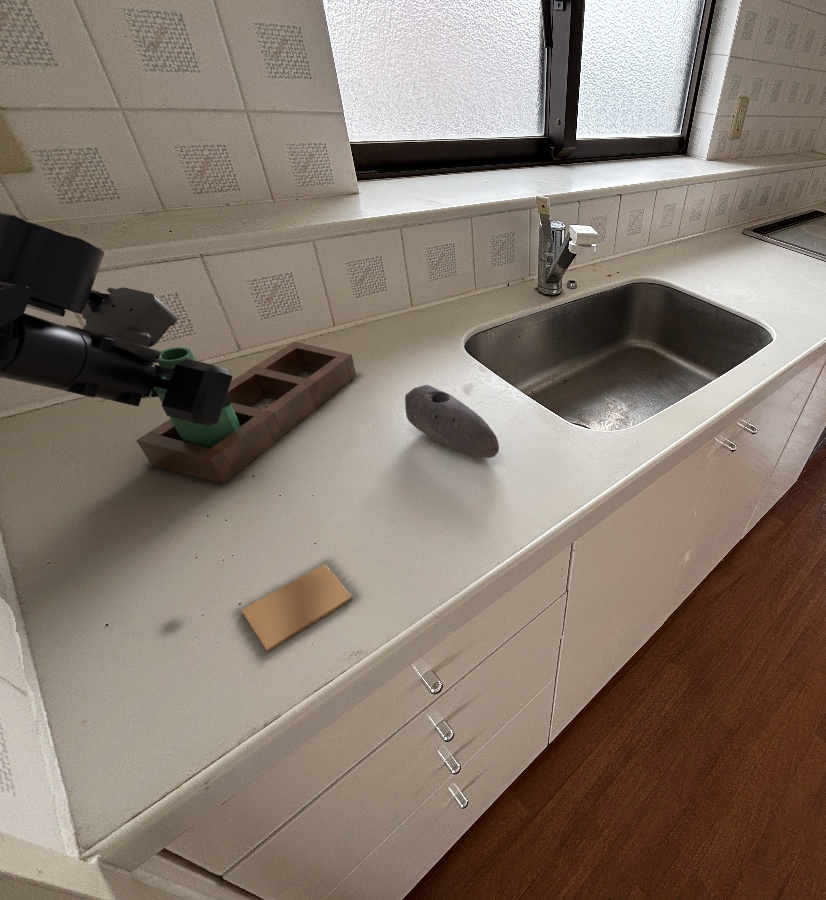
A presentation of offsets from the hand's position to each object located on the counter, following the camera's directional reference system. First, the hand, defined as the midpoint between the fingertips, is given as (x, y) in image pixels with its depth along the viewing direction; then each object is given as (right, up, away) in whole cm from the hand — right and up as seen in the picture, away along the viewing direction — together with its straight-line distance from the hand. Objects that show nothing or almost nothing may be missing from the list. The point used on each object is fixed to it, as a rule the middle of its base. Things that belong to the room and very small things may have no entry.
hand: (206, 395), depth 60 cm
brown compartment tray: (+1, -2, +10) cm, 10 cm away
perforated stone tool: (+28, -6, +10) cm, 30 cm away
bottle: (-1, -7, +4) cm, 8 cm away
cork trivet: (+18, -22, -11) cm, 31 cm away
